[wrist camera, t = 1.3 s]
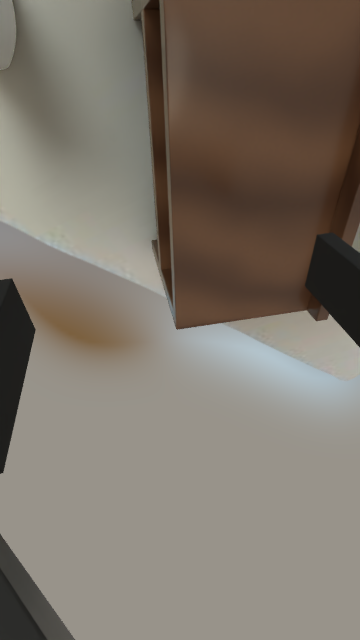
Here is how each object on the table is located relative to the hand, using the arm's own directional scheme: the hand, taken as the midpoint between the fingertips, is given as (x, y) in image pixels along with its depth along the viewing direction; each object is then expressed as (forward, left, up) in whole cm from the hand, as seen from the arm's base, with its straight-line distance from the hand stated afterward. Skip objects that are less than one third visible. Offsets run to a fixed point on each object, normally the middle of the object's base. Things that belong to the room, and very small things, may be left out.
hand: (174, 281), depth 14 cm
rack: (-1, +7, -21) cm, 22 cm away
